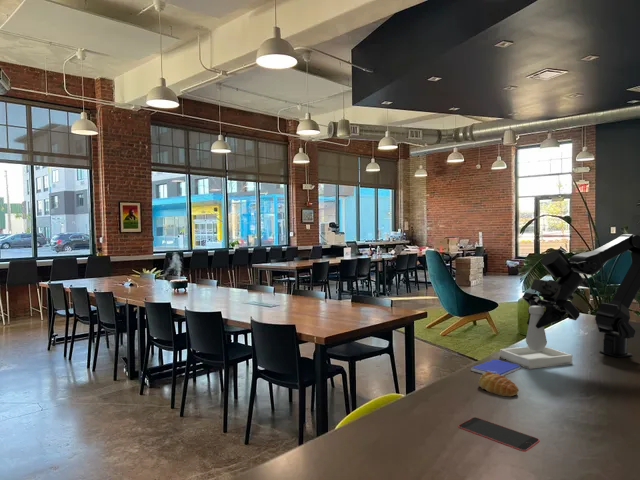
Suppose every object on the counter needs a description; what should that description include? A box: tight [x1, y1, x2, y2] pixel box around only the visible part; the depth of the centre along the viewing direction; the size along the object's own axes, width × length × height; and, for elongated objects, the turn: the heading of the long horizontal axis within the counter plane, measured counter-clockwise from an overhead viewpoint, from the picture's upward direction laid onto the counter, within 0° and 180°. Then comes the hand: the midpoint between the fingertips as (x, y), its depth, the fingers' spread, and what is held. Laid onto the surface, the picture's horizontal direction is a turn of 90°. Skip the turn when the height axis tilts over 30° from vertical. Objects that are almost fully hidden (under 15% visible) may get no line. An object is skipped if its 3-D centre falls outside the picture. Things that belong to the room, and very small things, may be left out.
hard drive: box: [470, 358, 521, 376], centre depth 130 cm, size 2×8×12 cm
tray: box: [499, 345, 573, 370], centre depth 139 cm, size 16×12×2 cm
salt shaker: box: [525, 305, 548, 351], centre depth 138 cm, size 6×6×13 cm
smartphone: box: [457, 417, 541, 452], centre depth 91 cm, size 7×1×14 cm
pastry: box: [478, 372, 519, 397], centre depth 114 cm, size 9×7×4 cm
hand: (532, 325), depth 138 cm, fingers closed on salt shaker, 3 cm apart
